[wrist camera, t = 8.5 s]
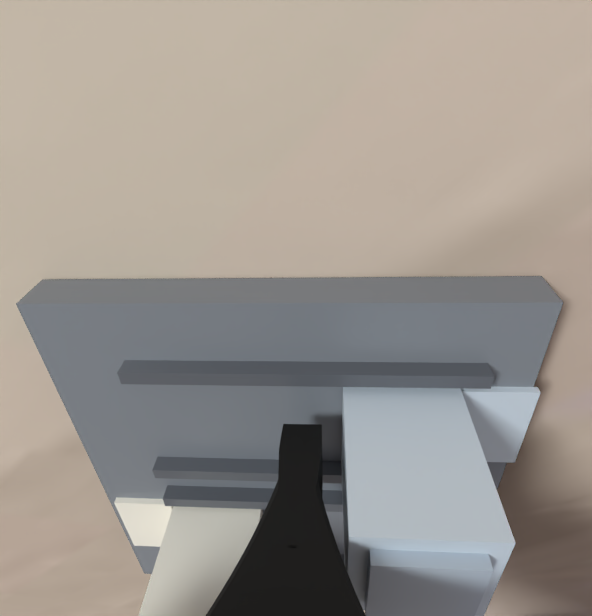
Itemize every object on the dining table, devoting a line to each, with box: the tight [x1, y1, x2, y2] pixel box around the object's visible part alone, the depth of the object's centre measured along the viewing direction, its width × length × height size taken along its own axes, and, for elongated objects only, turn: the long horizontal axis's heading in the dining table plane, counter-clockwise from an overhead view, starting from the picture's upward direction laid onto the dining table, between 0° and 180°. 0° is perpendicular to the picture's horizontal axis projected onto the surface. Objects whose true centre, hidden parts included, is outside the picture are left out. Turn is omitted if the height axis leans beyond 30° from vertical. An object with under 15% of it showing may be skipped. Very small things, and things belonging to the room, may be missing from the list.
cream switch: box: [139, 506, 263, 616], centre depth 14 cm, size 3×3×4 cm
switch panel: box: [16, 276, 563, 574], centre depth 14 cm, size 14×13×2 cm
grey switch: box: [341, 387, 516, 616], centre depth 10 cm, size 3×3×4 cm
